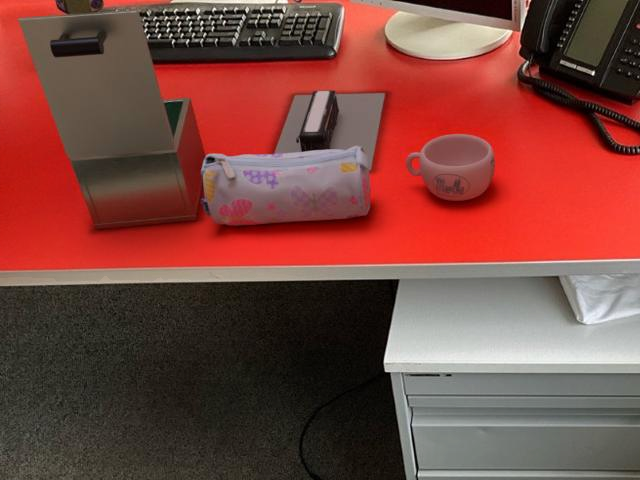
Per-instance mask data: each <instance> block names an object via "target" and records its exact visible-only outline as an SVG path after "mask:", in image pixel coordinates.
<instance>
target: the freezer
mask: <svg viewBox="0 0 640 480" xmlns="http://www.w3.org/2000/svg"><path fill="white" fill-rule="evenodd" d="M163 102H164V106H165V110H166V113H167V117H168V120H169V124H170V128H171V131H172V135H173V139H174V142H175V146H176V148H175V150H166V151H155V152H143V153H131V154H119V155H107V156H95V157H83V158H71V159H69V161H70V164H71V167H72V170H73V172H74V174H75V177H76V180H77V184H78V186H79V188H80V191H81V194H82V196H83V199H84V202H85V205H86V207H87V210H88V212H89V215H90V217H91V220H92V223H93V226H94V229H95V230H106V229H116V228H118V229H119V228H127V227H128V228H129V227H139V226H149V225H162V224H172V223H180V222H181V223H182V222H183V223H184V222H193V221H196V220H197V216H198V213H199V208H200V207H199V206H200V203H201V201H200V199H201V196H202V192H203V187H204V184H203V179H202V176H201V169H202V165H203V161H204V159H205V157H206V156H207V155H206V152H205V149H204V148H205V147H204V144H203V141H202V137H201V133H200V129H199V126H198V122H197V119H196V118H197V117H196V114H195V110H194V107H193V102H192V99H191V97H180V98H168V99H163Z"/></svg>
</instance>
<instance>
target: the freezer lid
mask: <svg viewBox="0 0 640 480" xmlns="http://www.w3.org/2000/svg"><path fill="white" fill-rule="evenodd" d="M17 22H18V24H19V27H20V30H21V32H22V35H23V38H24V41H25V43H26V46H27V49H28V52H29V54H30V57H31V60H32V63H33V66H34V68H35V71H36V74H37V76H38V80H39V82H40V85H41V88H42V91H43V94H44V96H45V99H46V102H47V105H48V107H49V110H50V113H51V116H52V118H53V121H54V124H55V126H56V129H57V132H58V135H59V138H60V141H61V143H62V147H63V149H64V152H65V155H66V158H67V159H68V160H71V158H83V157H95V156H107V155H119V154H131V153H143V152H155V151H166V150H175V148H176V146H175V142H174V139H173V135H172V131H171V128H170V124H169V120H168V117H167V113H166V110H165V106H164V102H163V100H164V98H163V95H162V91H161V88H160V84H159V81H158V77H157V74H156V69H155V67H154V63H153V62H154V61H153V58H152V55H151V52H150V48H149V44H148V40H147V37H146V34H145V29H144V26H143V22H142V19H141V15H140V11H139V9H125V10H112V11H111V10H110V11H99V12H94V13H80V14H66V13H64V14H51V15H37V16H23V17H19V18H18V19H17Z"/></svg>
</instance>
